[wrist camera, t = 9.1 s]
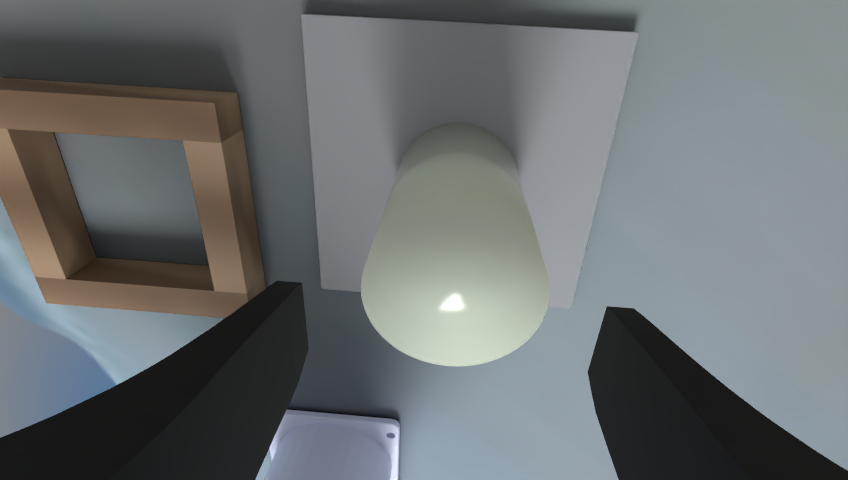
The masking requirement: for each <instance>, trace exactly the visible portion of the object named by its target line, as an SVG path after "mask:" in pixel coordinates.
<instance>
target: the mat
mask: <svg viewBox="0 0 848 480" xmlns="http://www.w3.org/2000/svg"><path fill="white" fill-rule="evenodd" d="M301 22H302V35H303V48H304V62H305V75H306V88H307V102H308V115H309V129H310V142H311V155H312V169H313V182H314V195H315V209H316V222H317V235H318V249H319V262H320V276H321V289H327V290H340V291H353V292H361V280H362V274H363V270H364V266H365V263H366V260H367V258H368V255H369V252H370V249H371V246H372V243H373V240H374V237H375V235H376V232H377V229H378V226H379V223H380V220H381V217H382V214H383V211H384V209H385V206H386V203H387V200H388V197H389V194H390V191H391V188H392V186H393V183H394V180H395V177H396V174H397V171H398V168H399V165H400V162H401V160H402V158H403V156H404V154H405V152H406V151H407V149H408V148H409V146H410V145H411V144H412V143H413V142H414V141H415V140H416V139H417V138H418V137H419V136H421V135H422V134H424V133H425V132H427V131H429V130H431V129H433V128H436V127H439V126H442V125H447V124H456V123H459V124H469V125H474V126H477V127H480V128H483V129H485V130H487V131H489V132H491V133H492V134H494V135H495V136H496V137H498V138H499V139H500V140H501V141H502V142H503V143H504V144H505V145H506V146H507V148H508V149H509V151H510V152H511V154H512V156H513V159H514V161H515V164H516V167H517V171H518V174H519V178H520V181H521V185H522V188H523V191H524V195H525V198H526V202H527V205H528V209H529V212H530V215H531V219H532V222H533V226H534V229H535V232H536V236H537V239H538V243H539V246H540V250H541V253H542V256H543V260H544V263H545V267H546V270H547V274H548V277H549V284H550V298H549V303H548V307H557V308H570V309H571V307H572V302H573V298H574V294H575V290H576V286H577V282H578V278H579V274H580V270H581V266H582V262H583V258H584V254H585V250H586V246H587V242H588V238H589V234H590V230H591V225H592V221H593V217H594V213H595V209H596V205H597V201H598V197H599V193H600V189H601V185H602V181H603V177H604V173H605V169H606V165H607V161H608V157H609V153H610V148H611V144H612V140H613V136H614V132H615V128H616V124H617V120H618V116H619V112H620V108H621V104H622V100H623V96H624V92H625V88H626V84H627V80H628V76H629V71H630V67H631V63H632V59H633V55H634V51H635V47H636V43H637V39H638V35H639V33H638V32H633V31H615V30H596V29H578V28H560V27H541V26H523V25H504V24H486V23H468V22H449V21H431V20H413V19H394V18H376V17H357V16H339V15H321V14H301Z"/></svg>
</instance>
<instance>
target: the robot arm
mask: <svg viewBox="0 0 848 480" xmlns="http://www.w3.org/2000/svg"><path fill="white" fill-rule="evenodd" d="M307 351H308V340H307V330H306V320H305V310H304V300H303V290H302V283H297V282H285V281H276V282H275V283H273V284H272V285H270V286H269V287H267V288H266V289H264V290H263V291H262V292H260V293H259V294H258V295H256V296H255V297H254V298H252V299H251V300H250V301H248V302H247V303H246V304H244V305H243V306H241V307H240V308H239V309H237V310H236V311H235V312H233V313H232V314H230V315H229V316H228V317H226V318H225V319H223V320H222V321H221V322H219V323H218V324H216V325H215V326H214V327H212V328H211V329H209V330H208V331H206V332H205V333H203V334H202V335H200V336H199V337H197V338H196V339H194V340H193V341H191V342H190V343H188V344H186V345H185V346H183V347H182V348H180V349H179V350H177V351H176V352H174V353H173V354H171V355H170V356H168V357H166V358H165V359H163V360H161V361H160V362H158V363H156V364H154V365H153V366H151V367H149V368H148V369H146V370H144V371H142V372H140V373H139V374H137V375H135V376H133V377H131V378H129V379H128V380H126V381H124V382H122V383H120V384H118V385H116V386H115V387H113V388H111V389H109V390H107V391H104V392H102V393H100V394H98V395H96V396H94V397H92V398H90V399H88V400H86V401H84V402H82V403H79V404H77V405H75V406H73V407H71V408H69V409H67V410H65V411H63V412H61V413H58V414H56V415H54V416H52V417H50V418H47V419H45V420H43V421H40V422H38V423H36V424H33V425H31V426H29V427H26V428H24V429H21V430H19V431H16V432H14V433H11V434H9V435H6V436H4V437H1V438H0V480H255V479H256V476H257V474H258V472H259V469H260V467H261V465H262V463H263V461H264V458H265V456H266V454H267V452H268V450H269V449H270V455H271V460H272V462H271V464H270V467H269V469H268V472H267V474H266V477H265V479H264V480H398V479H399V445H400V423H399V422H398V421H396V420H394V419H387V418H376V417H365V416H353V415H342V414H331V413H320V412H309V411H297V410H287V408H288V405H289V403H290V401H291V399H292V396H293V394H294V392H295V390H296V387H297V384H298V381H299V378H300V375H301V372H302V369H303V365H304V362H305V358H306V355H307ZM588 375H589V381H590V386H591V391H592V396H593V401H594V406H595V410H596V414H597V417H598V420H599V423H600V426H601V429H602V432H603V435H604V438H605V441H606V444H607V447H608V450H609V453H610V456H611V459H612V461H613V464H614V467H615V470H616V473H617V476H618V479H619V480H848V471H847V470H845V469H844V468H842V467H840V466H839V465H837V464H835V463H834V462H832V461H831V460H829V459H827V458H826V457H824V456H823V455H821V454H820V453H818V452H817V451H815V450H813V449H812V448H810V447H809V446H807V445H806V444H805V443H803V442H802V441H800V440H799V439H797V438H796V437H794V436H793V435H791V434H790V433H788V432H787V431H785V430H784V429H783V428H781V427H780V426H778V425H777V424H775V423H774V422H772V421H771V420H770V419H768V418H767V417H765V416H764V415H763V414H761V413H760V412H759V411H757V410H756V409H755V408H753V407H752V406H751V405H749V404H748V403H747V402H745V401H744V400H743V399H742V398H740V397H739V396H738V395H736V394H735V393H734V392H733V391H731V390H730V389H729V388H727V387H726V386H725V385H724V384H722V383H721V382H720V381H719V380H717V379H716V378H715V377H714V376H712V375H711V374H710V373H709V372H708V371H706V370H705V369H704V368H703V367H702V366H700V365H699V364H698V363H697V362H696V361H695V360H693V359H692V358H691V357H690V356H689V355H688V354H686V353H685V352H684V351H683V350H682V349H681V348H679V347H678V346H677V345H676V344H675V343H674V342H673V341H671V340H670V339H669V338H668V337H667V336H666V335H665V334H663V333H662V332H661V331H660V330H659V329H658V328H657V327H655V326H654V325H653V324H652V323H651V322H650V321H648V320H647V319H646V318H645V317H644V316H642V315H641V314H640V313H639V312H637V311H636V310H635V309H633V308H620V307H607V308H606V311H605V315H604V318H603V322H602V325H601V329H600V332H599V335H598V339H597V342H596V346H595V349H594V353H593V356H592V359H591V363H590V366H589V370H588Z"/></svg>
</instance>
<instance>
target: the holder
mask: <svg viewBox="0 0 848 480" xmlns="http://www.w3.org/2000/svg"><path fill="white" fill-rule="evenodd" d="M53 132H61V133H76V134H91V135H106V136H121V137H137V138H152V139H167V140H182V141H183V144H184V149H185V153H186V158H187V163H188V168H189V172H190V177H191V182H192V186H193V191H194V196H195V201H196V205H197V210H198V215H199V220H200V224H201V229H202V234H203V239H204V243H205V248H206V253H207V258H208V262H209V266H203V265H190V264H177V263H164V262H151V261H138V260H125V259H112V258H99V257H96V255H95V252H94V249H93V246H92V244H91V241H90V238H89V235H88V232H87V229H86V226H85V223H84V220H83V218H82V215H81V212H80V209H79V206H78V203H77V200H76V197H75V194H74V191H73V189H72V186H71V183H70V180H69V177H68V174H67V171H66V168H65V165H64V163H63V160H62V157H61V154H60V151H59V148H58V145H57V142H56V139H55V137H54V134H53ZM0 197H1V199H2V202H3V204H4V206H5V209H6V211H7V213H8V216H9V218H10V220H11V223H12V225H13V227H14V230H15V232H16V234H17V237H18V239H19V241H20V243H21V246H22V248H23V250H24V253H25V255H26V257H27V260H28V262H29V264H30V267H31V269H32V271H33V274H34V276H35V278H36V281H37V283H38V285H39V288H40V290H41V292H42V295H43V297H44V299H45V302H46V303H51V304H63V305H75V306H88V307H100V308H112V309H124V310H137V311H149V312H161V313H173V314H186V315H198V316H210V317H222V318H226V317H228V316H229V315H230V314H232V313H233V312H235V311H236V310H237V309H239V308H240V307H241V306H243V305H244V304H246V303H247V302H248V301H250V300H251V299H252V298H254V297H255V296H256V295H258V294H259V293H260V292H262V291H263V290H264V289H266V285H265V278H264V271H263V264H262V257H261V250H260V243H259V236H258V229H257V223H256V216H255V209H254V202H253V195H252V188H251V181H250V174H249V167H248V160H247V154H246V147H245V140H244V133H243V126H242V119H241V112H240V105H239V98H238V92H224V91H208V90H192V89H176V88H159V87H143V86H127V85H111V84H94V83H78V82H62V81H46V80H30V79H13V78H0Z"/></svg>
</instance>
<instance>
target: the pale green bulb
mask: <svg viewBox="0 0 848 480" xmlns="http://www.w3.org/2000/svg"><path fill="white" fill-rule="evenodd" d="M361 297H362V301H363V306H364V309H365V311H366V314H367V316H368V318H369V320H370V322H371V323H372V325H373V326H374V328H375V329H376V330H377V332H378V333H379V334H380V335H381V336H382V337H383V338H384V339H385V340H386V341H387V342H389V343H390V344H391V345H392V346H394V347H395V348H397V349H398V350H400V351H401V352H403V353H405V354H407V355H409V356H411V357H413V358H416V359H418V360H421V361H424V362H428V363H432V364H437V365H443V366H471V365H478V364H482V363H487V362H490V361H493V360H496V359H499V358H501V357H503V356H505V355H507V354H509V353H511V352H512V351H514V350H516V349H517V348H519V347H520V346H521V345H523V344H524V343H525V342H526V341H527V340H528V339H529V338H530V337H531V336H532V335H533V334H534V333H535V331H536V330H537V329H538V327H539V326H540V324H541V322H542V320H543V319H544V316H545V314H546V311H547V308H548V303H549V298H550V284H549V277H548V274H547V270H546V267H545V263H544V260H543V256H542V253H541V250H540V246H539V243H538V239H537V236H536V232H535V229H534V226H533V222H532V219H531V215H530V212H529V209H528V205H527V202H526V198H525V195H524V191H523V188H522V185H521V181H520V178H519V174H518V171H517V167H516V164H515V161H514V159H513V156H512V154H511V152H510V151H509V149H508V148H507V146H506V145H505V144H504V143H503V142H502V141H501V140H500V139H499V138H498V137H496V136H495V135H494V134H492V133H491V132H489V131H487V130H485V129H483V128H480V127H477V126H474V125H469V124H459V123H456V124H447V125H442V126H439V127H436V128H433V129H431V130H429V131H427V132H425V133H424V134H422V135H421V136H419V137H418V138H417V139H416V140H415V141H414V142H413V143H412V144H411V145H410V146H409V148H408V149H407V151H406V152H405V154H404V156H403V158H402V160H401V162H400V165H399V168H398V171H397V174H396V177H395V180H394V183H393V186H392V188H391V191H390V194H389V197H388V200H387V203H386V206H385V209H384V211H383V214H382V217H381V220H380V223H379V226H378V229H377V232H376V235H375V237H374V240H373V243H372V246H371V249H370V252H369V255H368V258H367V260H366V263H365V266H364V270H363V274H362V280H361Z"/></svg>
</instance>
